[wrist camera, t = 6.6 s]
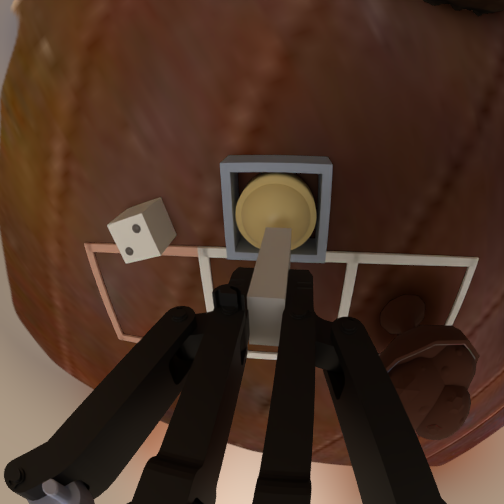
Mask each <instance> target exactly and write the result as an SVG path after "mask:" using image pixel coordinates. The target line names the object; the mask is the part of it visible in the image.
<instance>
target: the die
mask: <svg viewBox="0 0 504 504" xmlns="http://www.w3.org/2000/svg"><path fill="white" fill-rule="evenodd" d="M107 226H108V228H109V230H110V233H111V235H112V237H113V239H114V241H115V243H116V245H117V247H118V249H119V251H120V253H121V255H122V257H123V259H124V261H125V263H126V264H127V263H131V262H135V261H140V260H144V259H148V258H153V257H157V256H161V255H162V253H163V252H164V251H165V249H166V248H167V247H168V246H169V244H170V243H171V242H172V240H173V239H174V238H175V237H176V235H177V234H176V232H175V230H174V227H173V225H172V223H171V220H170V218H169V215H168V213H167V211H166V208H165V206H164V203H163V201H162V198H161V197H159V198H156V199H153V200H150V201H147V202H145V203H142V204H139V205H136V206H133V207H130V208H128V209H127V210H125V211H124V212H123V213H121V214H120V215H119V216H118V217H116V218H115V219H114V220H113V221H111V222H110V223H109V224H108V225H107Z"/></svg>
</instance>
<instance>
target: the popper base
mask: <svg viewBox="0 0 504 504" xmlns="http://www.w3.org/2000/svg"><path fill="white" fill-rule="evenodd" d="M332 167H333V165H332V163H331V161H330V159H329V158H328V157H321V156H295V155H229V156H227V157H226V158H225V159H224V160H223V161H222V162H221V163H220V173H221V187H222V201H223V215H224V227H225V240H226V252H227V259H232V260H256V261H257V258H258V254H259V250H260V249H259V248H257V247H255V246H253V245H252V244H251V243H249V242H248V241H247V240H246V239H245V238H244V237H243V236H241V232H240V230H239V228H238V226H237V222H236V216H235V214H236V206H237V202H238V200H239V186H238V172H287V173H316V174H319V179H318V201H317V218H316V234H315V238H308V239H307V241H306V242H304V243H303V244H302V245H301V246H299V247H297V248H295V249H293V250H291V259H290V262H306V263H325V259H326V249H327V238H328V227H329V215H330V202H331V186H332Z"/></svg>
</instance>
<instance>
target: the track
mask: <svg viewBox="0 0 504 504" xmlns="http://www.w3.org/2000/svg"><path fill="white" fill-rule="evenodd" d="M84 246H85V249H86V252H87V255H88V259H89V262H90V265H91V268H92V271H93V274H94V277H95V280H96V283H97V285H98V288H99V291H100V294H101V296H102V299H103V302H104V304H105V307H106V309H107V312H108V314H109V317H110V319H111V322H112V324H113V327H114V329H115V331H116V334H117V336H118V338H119V339H120V340H125V341H130V342H136V343H138V342H139V341H140V340H141V339H142V338H143V337H138V336H132V335H127V334H123V331H122V329H121V326H120V324H119V322H118V319H117V316H116V314H115V311H114V309H113V306H112V303H111V301H110V298H109V295H108V292H107V290H106V287H105V284H104V281H103V278H102V275H101V272H100V269H99V266H98V262H97V259H96V256H95V253H94V252H108V253H120V251H119V249H118V247H117V245H116V243H88V242H85V243H84ZM162 255H170V256H192V257H199V264H200V271H201V278H202V284H203V291H204V297H205V303H206V309H207V312H210V311H213V309H214V304H213V297H212V292H213V290H214V289H213V282H212V274H211V266H210V258H209V257H214V258H227V252H226V247H211V246H181V245H169V246H168V247H167V248H166V249H165V251H164V252H163V253H162ZM478 260H479V258H478V257H464V256H441V255H418V254H394V253H370V252H345V251H326V259H325V262H340V263H347V266H346V273H345V279H344V285H343V291H342V296H341V302H340V307H339V313H338V318H340V317H348V312H349V308H350V303H351V298H352V293H353V288H354V283H355V278H356V272H357V267H358V263H368V264H399V265H431V266H467V270H466V273H465V276H464V279H463V281H462V284H461V287H460V289H459V292H458V295H457V297H456V300H455V302H454V304H453V307H452V309H451V311H450V314H449V316H448V318H447V321H446V323H445V325H451V326H452V324H453V322H454V320H455V318H456V316H457V314H458V311H459V309H460V307H461V304H462V302H463V300H464V297H465V295H466V292H467V290H468V287H469V285H470V282H471V279H472V277H473V274H474V271H475V268H476V265H477V263H478ZM277 354H278V353H274V352H259V351H248V354H247V358H257V359H272V360H277ZM379 355H380V354H379Z"/></svg>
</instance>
